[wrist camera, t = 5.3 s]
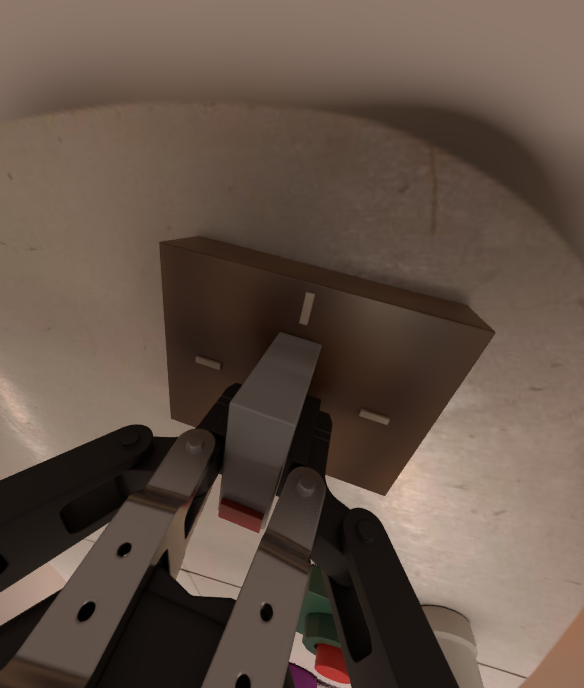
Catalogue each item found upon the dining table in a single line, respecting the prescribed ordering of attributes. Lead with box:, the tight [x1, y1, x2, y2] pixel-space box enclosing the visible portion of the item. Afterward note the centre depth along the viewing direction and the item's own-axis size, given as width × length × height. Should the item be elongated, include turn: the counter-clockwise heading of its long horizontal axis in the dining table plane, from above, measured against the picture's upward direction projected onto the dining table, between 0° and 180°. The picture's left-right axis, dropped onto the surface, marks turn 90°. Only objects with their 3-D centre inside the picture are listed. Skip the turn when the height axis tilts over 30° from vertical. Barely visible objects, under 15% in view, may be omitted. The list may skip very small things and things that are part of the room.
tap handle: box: [218, 332, 322, 533], centre depth 11 cm, size 6×2×5 cm, turn 168°
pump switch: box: [296, 565, 341, 655], centre depth 27 cm, size 12×9×4 cm
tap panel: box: [159, 236, 495, 496], centre depth 14 cm, size 14×11×3 cm
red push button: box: [315, 643, 350, 684], centre depth 25 cm, size 4×4×2 cm
